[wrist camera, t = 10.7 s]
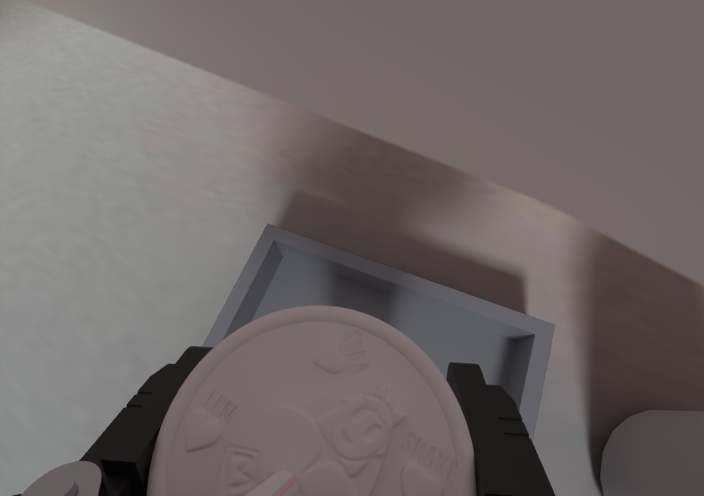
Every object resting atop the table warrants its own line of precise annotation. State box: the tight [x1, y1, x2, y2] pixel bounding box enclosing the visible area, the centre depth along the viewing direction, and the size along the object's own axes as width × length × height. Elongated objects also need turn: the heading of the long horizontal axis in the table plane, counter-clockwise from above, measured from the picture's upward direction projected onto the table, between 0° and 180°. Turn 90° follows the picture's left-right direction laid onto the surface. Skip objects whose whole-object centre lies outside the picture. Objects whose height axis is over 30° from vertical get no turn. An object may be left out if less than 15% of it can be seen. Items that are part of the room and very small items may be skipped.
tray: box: [202, 224, 555, 441], centre depth 19 cm, size 16×16×4 cm
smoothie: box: [147, 305, 477, 496], centre depth 9 cm, size 6×6×14 cm
